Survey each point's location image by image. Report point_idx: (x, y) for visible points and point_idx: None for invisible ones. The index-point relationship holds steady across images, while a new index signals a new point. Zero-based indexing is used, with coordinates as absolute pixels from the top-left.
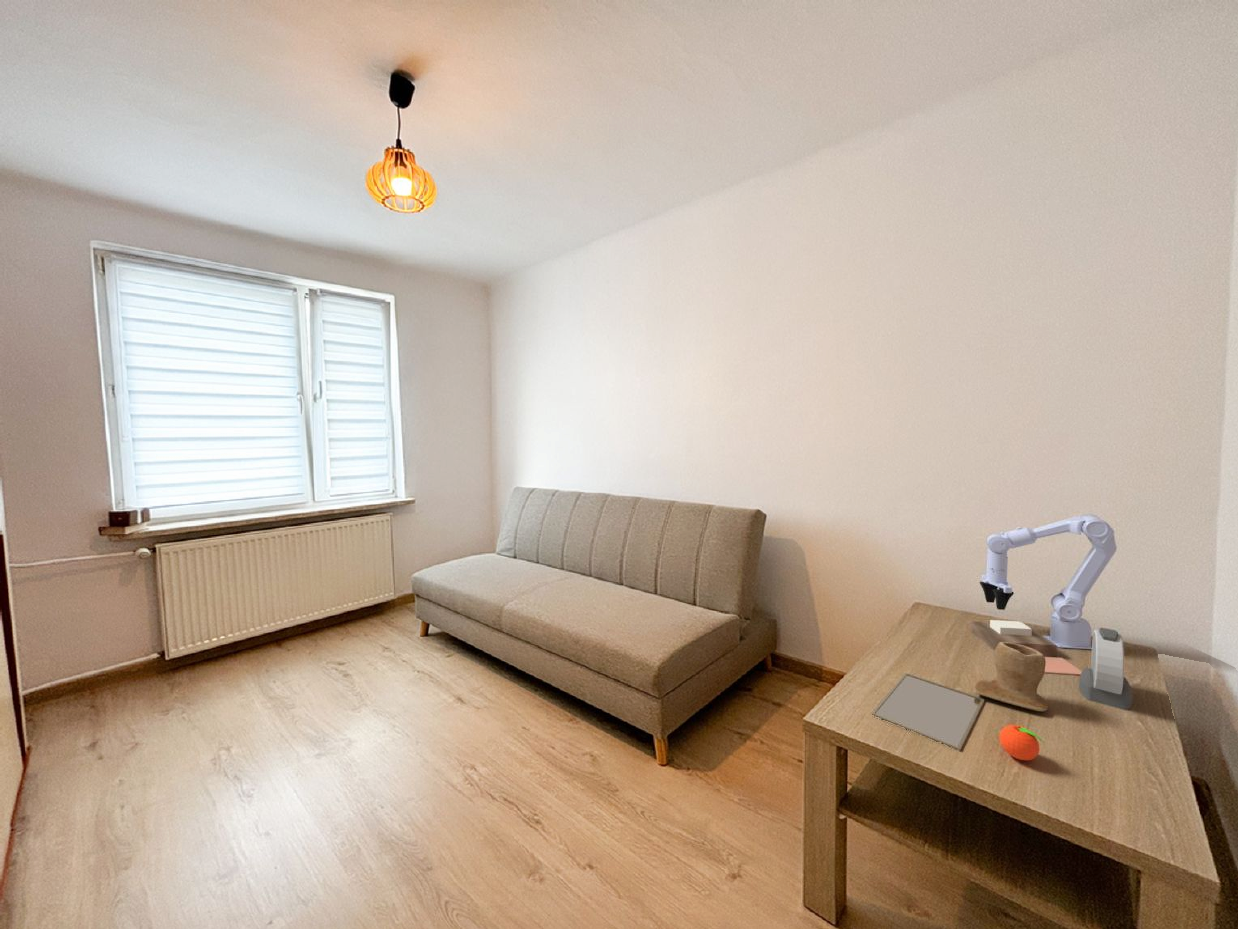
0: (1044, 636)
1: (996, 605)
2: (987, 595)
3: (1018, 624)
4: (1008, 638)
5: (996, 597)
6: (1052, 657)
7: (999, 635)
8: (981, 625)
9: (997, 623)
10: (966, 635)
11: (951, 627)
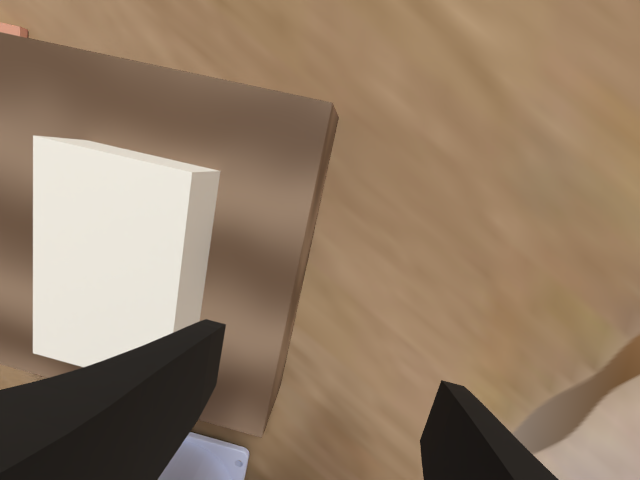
0: (238, 453)
1: (203, 336)
2: (478, 464)
3: (106, 330)
4: (23, 145)
5: (39, 396)
6: None
7: (67, 119)
8: (245, 118)
9: (117, 178)
10: (293, 37)
11: (435, 17)
